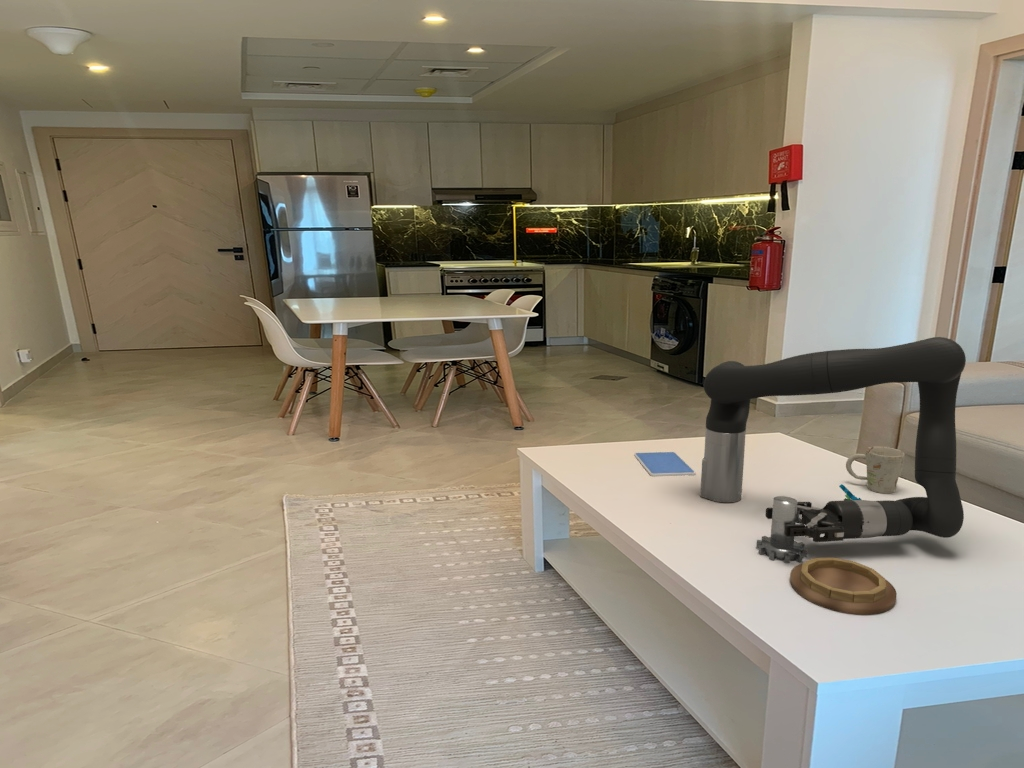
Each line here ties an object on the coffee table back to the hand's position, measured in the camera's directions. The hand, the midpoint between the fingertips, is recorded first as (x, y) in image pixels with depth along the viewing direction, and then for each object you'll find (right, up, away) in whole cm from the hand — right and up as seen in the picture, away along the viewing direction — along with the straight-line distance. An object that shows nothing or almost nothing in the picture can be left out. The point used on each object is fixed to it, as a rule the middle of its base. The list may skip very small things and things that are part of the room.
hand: (775, 521), depth 132 cm
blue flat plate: (-10, +4, +56) cm, 56 cm away
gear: (+25, -3, +18) cm, 31 cm away
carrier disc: (+7, -9, -13) cm, 17 cm away
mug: (+38, +1, +36) cm, 53 cm away
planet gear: (+2, -6, +1) cm, 7 cm away
